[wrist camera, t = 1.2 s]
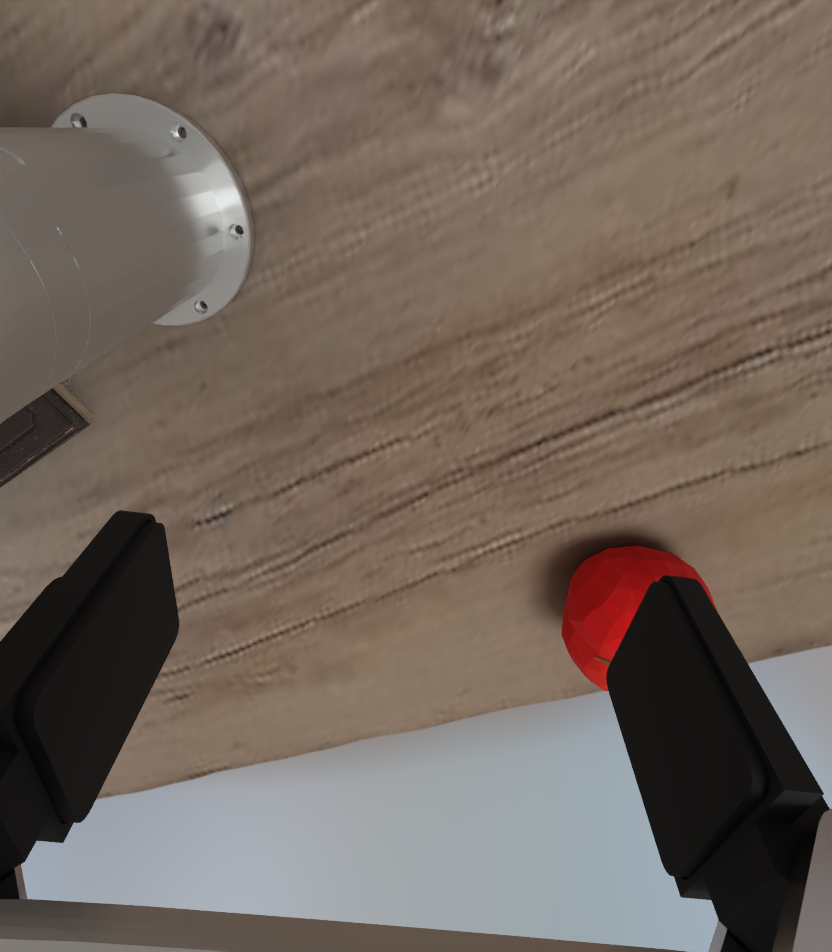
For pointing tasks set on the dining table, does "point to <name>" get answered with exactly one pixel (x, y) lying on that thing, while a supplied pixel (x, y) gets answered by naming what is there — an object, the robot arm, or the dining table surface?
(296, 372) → the dining table surface
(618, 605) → the tomato
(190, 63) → the dining table surface
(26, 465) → the hardcover book
